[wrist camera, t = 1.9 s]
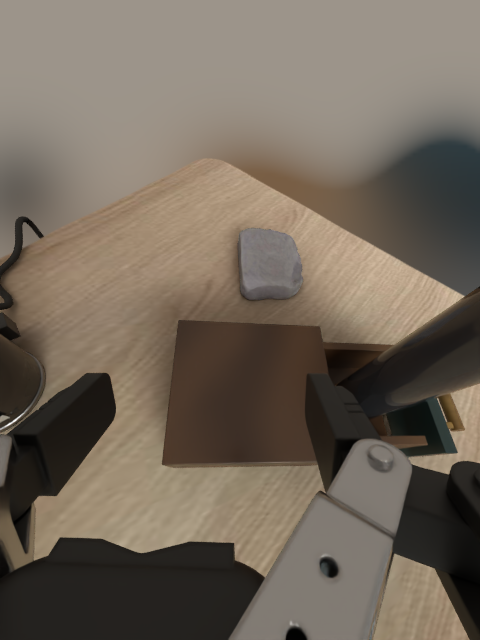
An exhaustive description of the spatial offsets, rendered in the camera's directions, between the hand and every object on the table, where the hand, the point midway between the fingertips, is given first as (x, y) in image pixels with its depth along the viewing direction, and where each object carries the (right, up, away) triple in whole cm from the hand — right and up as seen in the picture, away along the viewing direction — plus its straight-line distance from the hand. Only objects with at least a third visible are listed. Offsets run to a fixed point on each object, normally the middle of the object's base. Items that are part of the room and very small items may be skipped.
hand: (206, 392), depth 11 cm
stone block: (+6, +11, +32) cm, 34 cm away
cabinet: (+2, -7, +20) cm, 22 cm away
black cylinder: (+14, -7, +20) cm, 26 cm away
